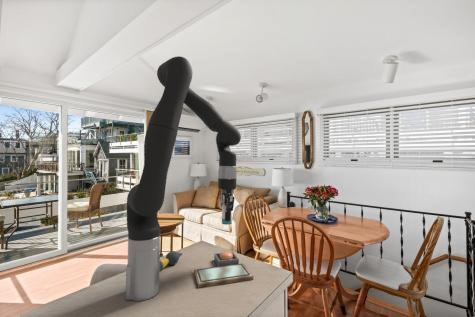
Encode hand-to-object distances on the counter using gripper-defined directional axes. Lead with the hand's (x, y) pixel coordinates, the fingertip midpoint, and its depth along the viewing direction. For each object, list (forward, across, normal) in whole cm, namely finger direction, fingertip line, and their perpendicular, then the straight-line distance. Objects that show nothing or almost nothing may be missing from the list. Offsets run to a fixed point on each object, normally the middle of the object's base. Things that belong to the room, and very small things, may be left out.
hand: (226, 219), depth 94 cm
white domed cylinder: (+2, 0, 0) cm, 2 cm away
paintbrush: (+18, -1, -24) cm, 30 cm away
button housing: (+17, 0, 0) cm, 17 cm away
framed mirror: (+17, +10, -4) cm, 21 cm away
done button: (+16, 0, 0) cm, 16 cm away
